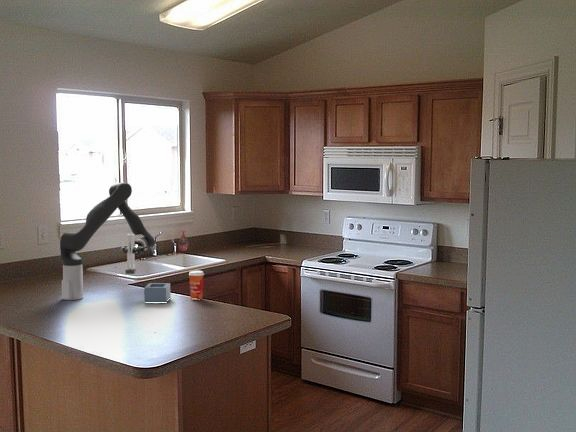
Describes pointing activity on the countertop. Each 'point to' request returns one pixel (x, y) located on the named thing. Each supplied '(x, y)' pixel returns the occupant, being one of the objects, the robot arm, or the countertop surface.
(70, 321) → the countertop surface
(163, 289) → the grey open box
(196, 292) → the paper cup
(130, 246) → the white upright rod
